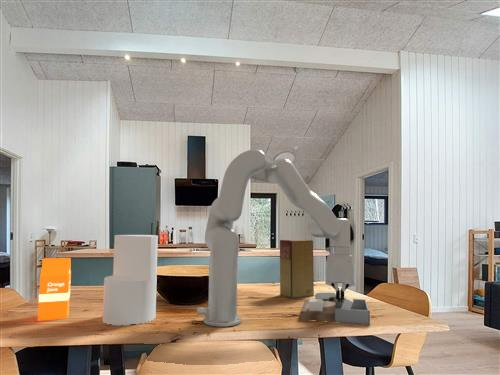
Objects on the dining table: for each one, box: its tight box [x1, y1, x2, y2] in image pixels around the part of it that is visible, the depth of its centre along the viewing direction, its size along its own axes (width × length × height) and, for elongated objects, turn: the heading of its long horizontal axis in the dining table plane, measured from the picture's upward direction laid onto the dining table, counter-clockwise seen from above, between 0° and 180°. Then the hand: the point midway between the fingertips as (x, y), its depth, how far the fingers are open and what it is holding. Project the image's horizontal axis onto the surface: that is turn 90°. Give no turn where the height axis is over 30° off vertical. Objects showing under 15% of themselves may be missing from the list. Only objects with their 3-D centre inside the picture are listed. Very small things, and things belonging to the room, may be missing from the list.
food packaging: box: [279, 239, 315, 299], centre depth 170 cm, size 13×9×25 cm
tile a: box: [341, 295, 354, 309], centre depth 136 cm, size 4×4×3 cm
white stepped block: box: [102, 234, 159, 326], centre depth 128 cm, size 17×17×28 cm
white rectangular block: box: [309, 298, 323, 311], centre depth 129 cm, size 4×4×3 cm
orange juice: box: [37, 257, 72, 322], centre depth 129 cm, size 8×9×20 cm
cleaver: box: [314, 292, 336, 302], centre depth 159 cm, size 30×10×2 cm, turn 178°
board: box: [300, 299, 336, 323], centre depth 134 cm, size 12×18×3 cm, turn 167°
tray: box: [335, 298, 371, 326], centre depth 131 cm, size 11×18×4 cm, turn 167°
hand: (340, 301), depth 137 cm, fingers closed
